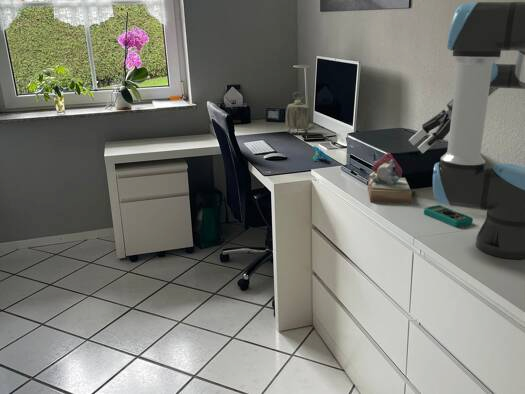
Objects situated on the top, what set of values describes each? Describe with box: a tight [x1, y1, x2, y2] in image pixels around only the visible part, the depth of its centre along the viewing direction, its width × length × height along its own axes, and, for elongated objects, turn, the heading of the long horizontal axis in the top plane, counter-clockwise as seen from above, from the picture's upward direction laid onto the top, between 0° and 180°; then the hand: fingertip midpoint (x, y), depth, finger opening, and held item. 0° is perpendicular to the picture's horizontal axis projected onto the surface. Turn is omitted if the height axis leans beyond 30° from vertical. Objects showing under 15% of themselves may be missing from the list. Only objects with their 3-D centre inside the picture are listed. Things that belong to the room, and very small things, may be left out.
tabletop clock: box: [285, 91, 311, 135], centre depth 301 cm, size 14×9×25 cm, turn 84°
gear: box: [312, 145, 330, 162], centre depth 238 cm, size 11×6×10 cm
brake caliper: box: [368, 152, 403, 185], centre depth 184 cm, size 11×11×12 cm
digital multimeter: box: [423, 204, 474, 229], centre depth 163 cm, size 7×15×3 cm, turn 27°
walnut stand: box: [367, 176, 413, 205], centre depth 186 cm, size 18×14×5 cm
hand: (415, 146), depth 181 cm, fingers open, 13 cm apart
